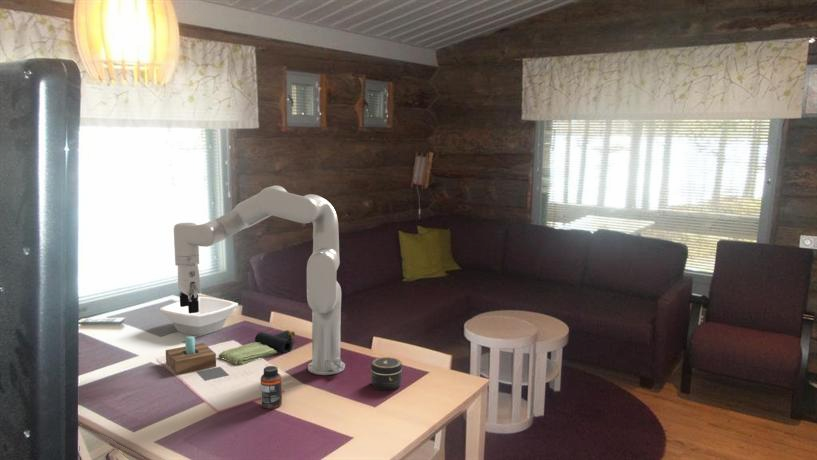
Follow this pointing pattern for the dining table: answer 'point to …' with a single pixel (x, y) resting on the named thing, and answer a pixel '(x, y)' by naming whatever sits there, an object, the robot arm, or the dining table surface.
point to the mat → (212, 373)
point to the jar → (386, 373)
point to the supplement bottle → (271, 388)
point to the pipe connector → (277, 340)
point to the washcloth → (247, 353)
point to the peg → (190, 345)
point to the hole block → (190, 359)
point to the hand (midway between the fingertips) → (189, 309)
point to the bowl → (199, 316)
